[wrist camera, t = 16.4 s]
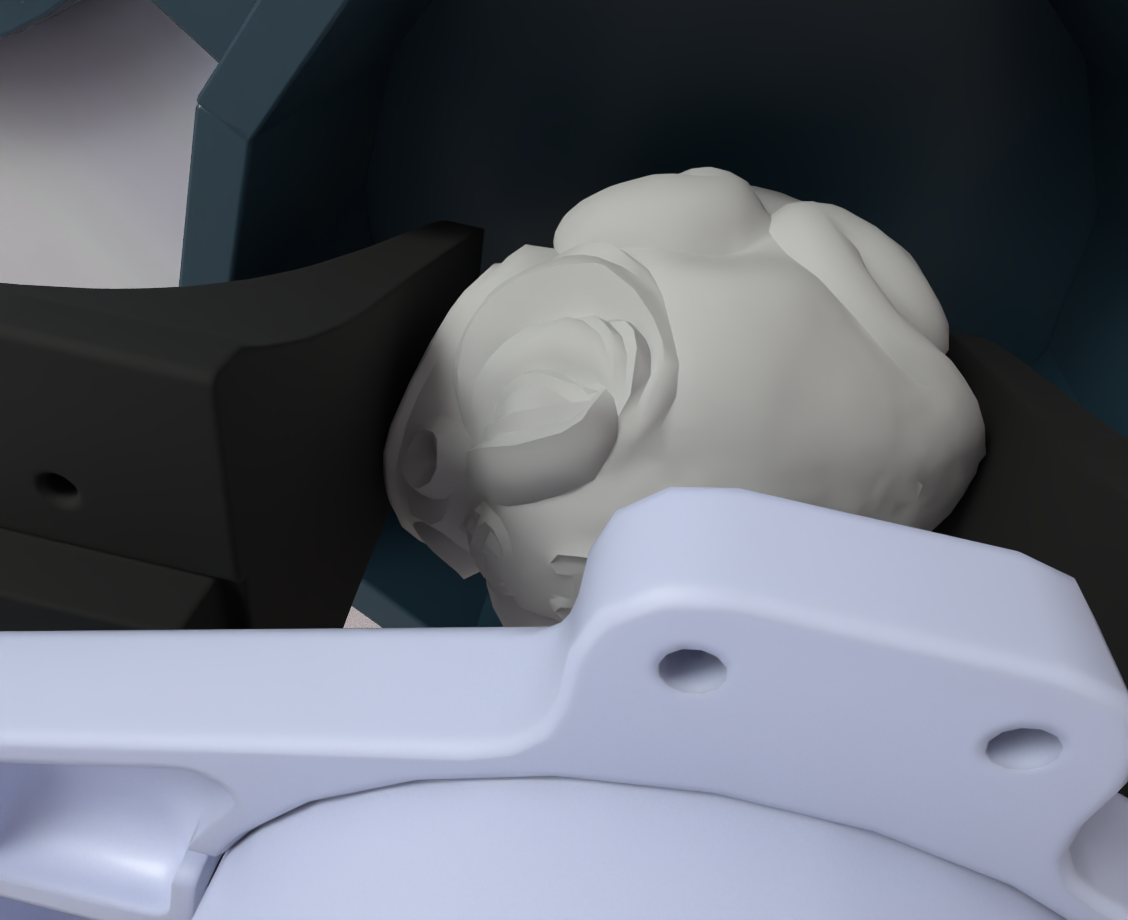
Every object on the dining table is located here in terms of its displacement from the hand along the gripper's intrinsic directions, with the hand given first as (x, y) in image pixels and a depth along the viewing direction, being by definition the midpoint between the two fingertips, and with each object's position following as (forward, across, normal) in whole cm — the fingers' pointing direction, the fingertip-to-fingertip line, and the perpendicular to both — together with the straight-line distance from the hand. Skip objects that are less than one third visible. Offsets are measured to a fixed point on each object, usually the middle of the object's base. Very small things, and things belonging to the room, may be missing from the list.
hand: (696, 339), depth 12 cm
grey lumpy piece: (+2, 0, 0) cm, 2 cm away
